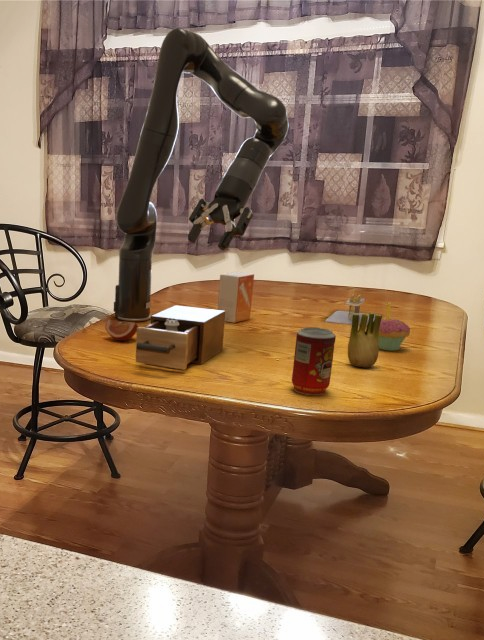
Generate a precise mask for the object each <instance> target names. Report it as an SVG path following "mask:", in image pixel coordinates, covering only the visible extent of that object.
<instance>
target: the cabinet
mask: <svg viewBox="0 0 484 640" xmlns="http://www.w3.org/2000/svg"><path fill="white" fill-rule="evenodd" d="M171 318H173V320H174V321H175V319H178V323H185V324H193V325H201V326H200V339H199V355H198V358H196V359H194V360H193V361H191V362H190V363H189V364H194V365H195V364H196V365H203V364H205V363H206V362H207V361H209V360H210V359H211V358H213V357H214V356H216V355H217V354H219V353H220V352H221V351H223V348H224V347H223V346H224V335H225V333H224V332H225V322H226V321H225V311H223V310H218V309H214V308H204V307H195V306H184V305H175V304H174V305H172V306H171V307H168V308H165V309H164V310H161V311H159V312H157V313H155V314H152V315H150V324H152V323H154V322H156V321H158V320H160V321H166V319H170V320H171Z"/></svg>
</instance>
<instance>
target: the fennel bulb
mask: <svg viewBox="0 0 484 640" xmlns="http://www.w3.org/2000/svg"><path fill="white" fill-rule="evenodd" d="M363 313H364V314H362V317H361V322H360V325H358V322H359V314H357V313H355V314H353V317H352V324H351V328H350V333H349V337H348V338H349V339H348V344H347V358H348V362H349V364H351V365H353V366H355V367H358V368H363V369H366V368H367V369H368V368H371V367H373V366H374V365H375V364H376V363H377V361H378V357H379V353H380V349H379V328H380V324H381V320H382V319H383V315H382V314H378V313H374V312H372V311H371V312H370V311H369V313H366V312H363ZM368 314H369V319H368ZM374 314H376V315H375V319H374ZM367 319H368V324H367ZM373 319H374V321H373ZM366 324H367V326H366Z"/></svg>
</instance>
